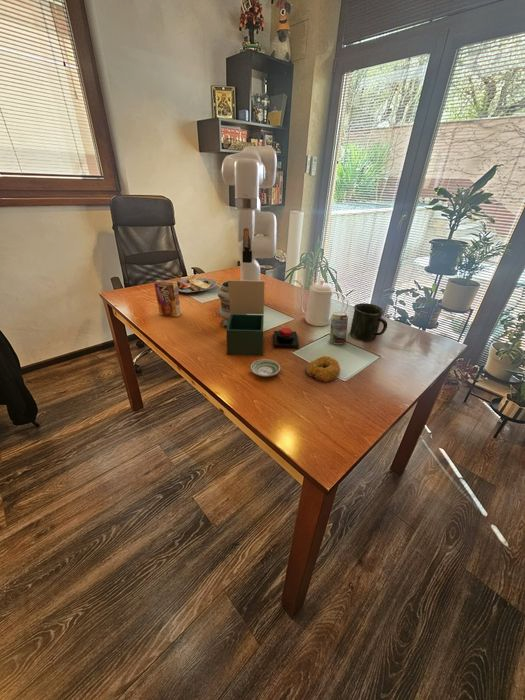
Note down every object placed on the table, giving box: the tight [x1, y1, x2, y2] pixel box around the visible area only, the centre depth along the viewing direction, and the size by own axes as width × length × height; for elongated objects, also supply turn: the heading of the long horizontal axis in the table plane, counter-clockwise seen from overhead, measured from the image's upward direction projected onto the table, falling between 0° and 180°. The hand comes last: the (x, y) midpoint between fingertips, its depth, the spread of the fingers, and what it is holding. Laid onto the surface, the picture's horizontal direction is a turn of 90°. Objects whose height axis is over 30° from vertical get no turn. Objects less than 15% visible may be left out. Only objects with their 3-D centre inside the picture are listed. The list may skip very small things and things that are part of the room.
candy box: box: [153, 279, 182, 318], centre depth 129 cm, size 9×4×15 cm, turn 78°
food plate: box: [176, 275, 217, 293], centre depth 163 cm, size 25×23×4 cm
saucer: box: [250, 358, 282, 378], centre depth 94 cm, size 10×10×2 cm
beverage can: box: [329, 311, 349, 345], centre depth 110 cm, size 6×7×12 cm
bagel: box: [305, 355, 342, 383], centre depth 94 cm, size 10×11×5 cm
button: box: [280, 327, 293, 336], centre depth 111 cm, size 4×4×2 cm
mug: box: [349, 302, 388, 342], centre depth 114 cm, size 11×15×12 cm
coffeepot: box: [293, 279, 349, 327], centre depth 124 cm, size 11×25×19 cm, turn 62°
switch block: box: [273, 329, 300, 350], centre depth 112 cm, size 11×9×4 cm
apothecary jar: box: [216, 280, 248, 329], centre depth 120 cm, size 12×12×18 cm
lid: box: [227, 278, 266, 315], centre depth 105 cm, size 14×13×1 cm
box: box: [225, 314, 265, 356], centre depth 107 cm, size 14×13×10 cm
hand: (247, 261), depth 103 cm, fingers closed
